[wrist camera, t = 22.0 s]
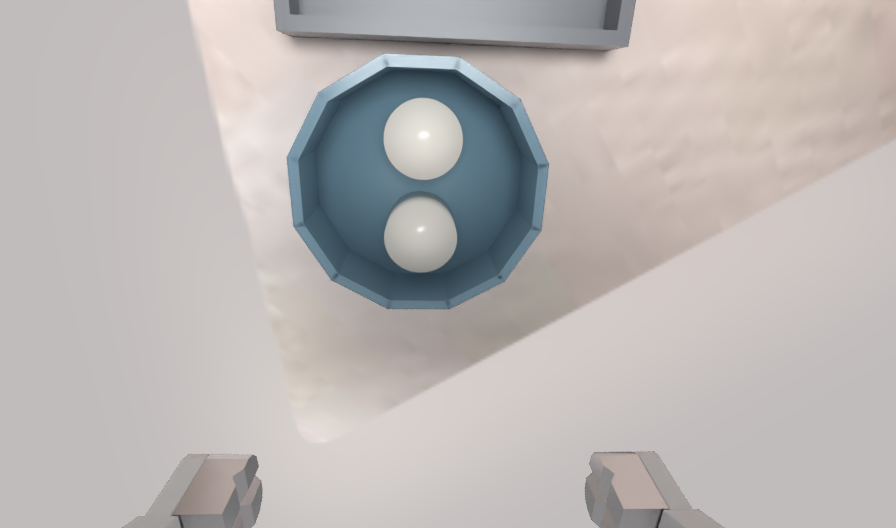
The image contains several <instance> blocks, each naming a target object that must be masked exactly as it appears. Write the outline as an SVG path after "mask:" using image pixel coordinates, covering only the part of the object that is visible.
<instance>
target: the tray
mask: <svg viewBox="0 0 896 528" xmlns="http://www.w3.org/2000/svg"><path fill="white" fill-rule="evenodd" d="M635 3H636V0H274V10H275V20H276V30H277V31H280V32H282V33H284V34H287V35H289V36H294V37H316V38H338V39H360V40H382V41H404V42H426V43H448V44H470V45H492V46H514V47H536V48H558V49H580V50H602V51H609V50H614V49H618V48H623V47H628V45H629V39H630V33H631V27H632V21H633V15H634V9H635Z"/></svg>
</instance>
